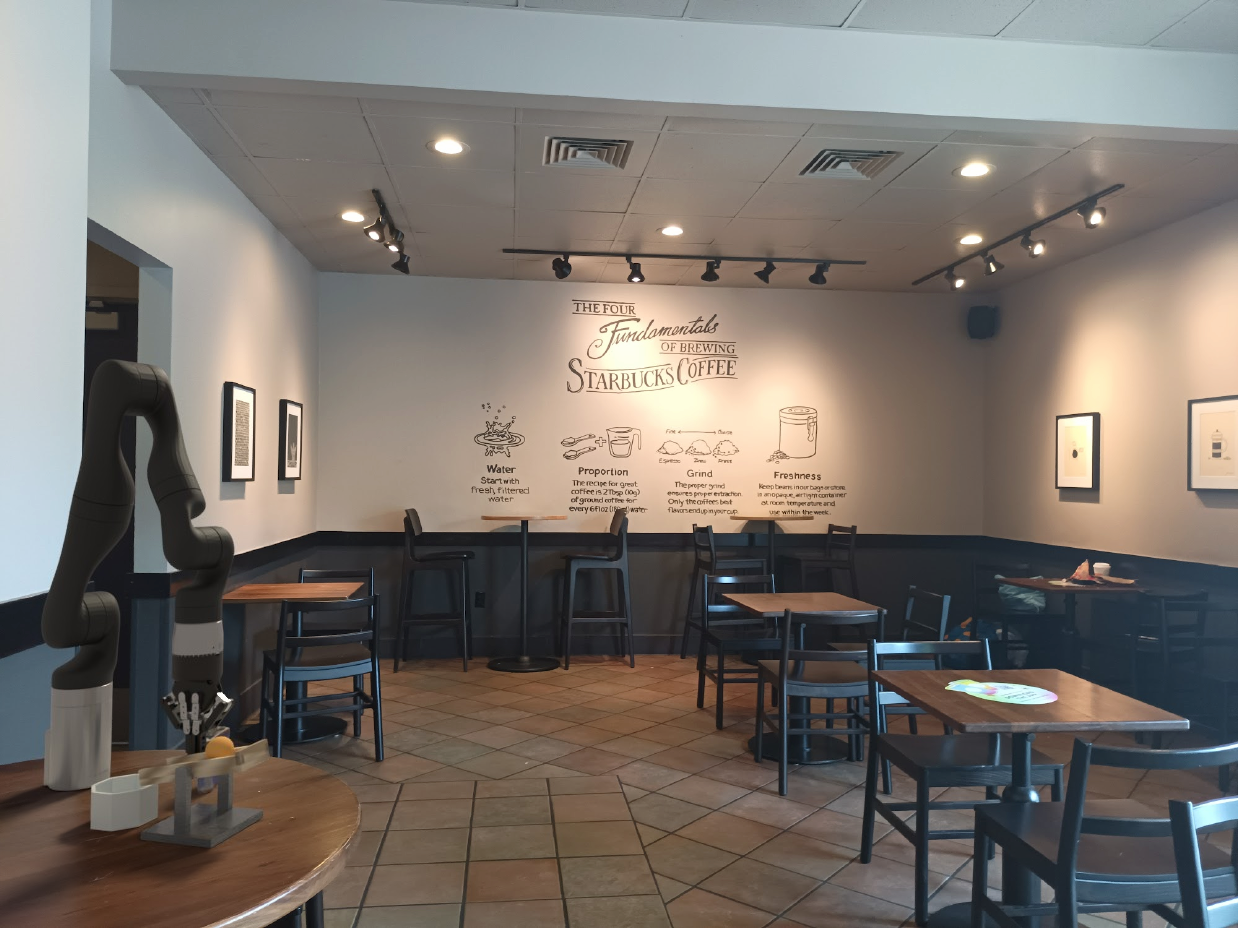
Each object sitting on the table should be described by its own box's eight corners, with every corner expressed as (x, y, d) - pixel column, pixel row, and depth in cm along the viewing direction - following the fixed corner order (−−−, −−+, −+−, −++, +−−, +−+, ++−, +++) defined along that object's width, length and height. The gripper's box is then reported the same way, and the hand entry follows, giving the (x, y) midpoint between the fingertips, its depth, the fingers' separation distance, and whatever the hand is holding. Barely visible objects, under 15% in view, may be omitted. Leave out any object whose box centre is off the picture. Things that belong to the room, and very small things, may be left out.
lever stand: (140, 839, 127) (142, 767, 128) (197, 810, 139) (199, 744, 139) (210, 847, 125) (212, 774, 125) (263, 817, 136) (264, 749, 137)
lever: (138, 787, 130) (134, 767, 131) (201, 760, 144) (198, 741, 144) (240, 773, 126) (236, 752, 127) (295, 746, 140) (292, 727, 140)
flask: (209, 793, 147) (210, 730, 147) (191, 794, 146) (192, 730, 147) (231, 776, 156) (232, 716, 156) (215, 776, 156) (216, 716, 156)
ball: (224, 765, 129) (201, 769, 130) (241, 757, 133) (219, 761, 134) (219, 738, 129) (197, 742, 130) (237, 731, 133) (215, 735, 134)
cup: (76, 827, 132) (77, 790, 132) (122, 805, 141) (123, 772, 141) (125, 832, 130) (126, 796, 130) (170, 811, 139) (170, 776, 139)
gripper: (146, 651, 138) (143, 759, 138) (217, 655, 135) (215, 766, 135) (179, 643, 146) (177, 746, 145) (248, 646, 143) (246, 752, 142)
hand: (195, 755), depth 140 cm, fingers closed
